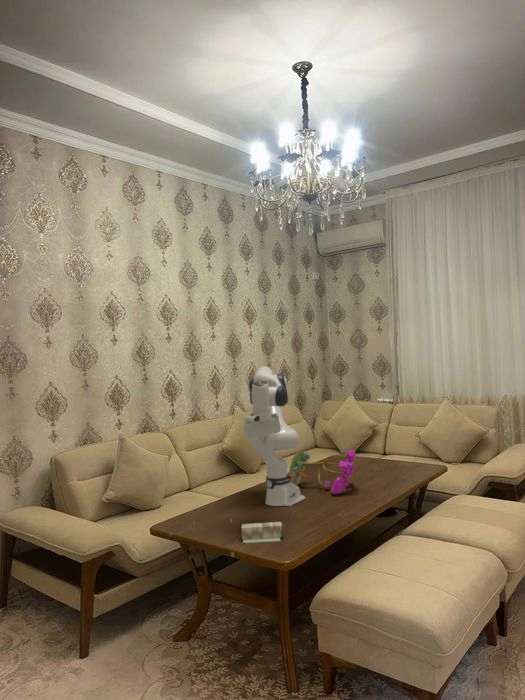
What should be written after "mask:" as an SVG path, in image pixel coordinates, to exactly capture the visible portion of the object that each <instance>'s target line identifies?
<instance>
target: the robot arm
mask: <svg viewBox="0 0 525 700" xmlns="http://www.w3.org/2000/svg"><path fill="white" fill-rule="evenodd" d="M287 380H288V379H287V378H286V377H285V375H284V374H283V373H276V374H275V373H274V372H273V370H272V369H271V368H270V367H269V366H265V365H263V366H260V367H258V369H257V370H256V371H255V372H254V376H253V377H252V378H251V379H250V380H249V381H248V387H247V389H248V392H249V401H250V402H249V403H250V404H251V405H252V408H251V410H252V412H250V413H248V414H247V415H246V416H244V417H243V421H244V424H243V436H244V437H245V439H250V444H251V446H252V448H253V449H254V450H255V451H256V452H257V453H259V454H260V455H261V457H262V458H263V460H264V462H265V470H266V476H265V478H266V479H265V483H266V497H265V505H267V506H273V507H282V506H283V507H284V506H286V507H289V506H293V505H296V504H298V503H300V502H301V501H303V500H306V497H305V495H302V494H301V489H300V487H299V486H298V485H297V486H296V485H295V484H293V483H292V482H290V479H293V475H289V476H288V464H287V460H286V459H285V458H284V457H282V456H280V455H277V454H276V453H275V451H287V450H291V449H295V448H297V447H298V445H299V444H300V436H299V434H298V431H296V430H295V429H294V428H292V427H291V426H289V425H288V424H287V423H286V421H285V420H284V416H283V414H284V413H283V409H282V408H283V407H285V406H286V405H287V404H288V402H289V396H290V395H289V391H288V390H287V387H288V381H287Z"/></svg>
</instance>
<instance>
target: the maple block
mask: <svg viewBox="0 0 525 700" xmlns="http://www.w3.org/2000/svg"><path fill="white" fill-rule="evenodd" d="M277 537H280V538H284V524H283V521H273V522H254V523H242V524H241V539H242V540H243V539H260V538H277Z"/></svg>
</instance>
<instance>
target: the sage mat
mask: <svg viewBox="0 0 525 700" xmlns="http://www.w3.org/2000/svg"><path fill="white" fill-rule="evenodd" d="M242 542H243V543H245V544H257V543H261V544H262V542H263V543H275V542H276V543H278V542H281V537H277V538H260V539H242Z"/></svg>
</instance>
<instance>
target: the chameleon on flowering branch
mask: <svg viewBox="0 0 525 700" xmlns="http://www.w3.org/2000/svg"><path fill="white" fill-rule="evenodd" d="M356 454H357V453H356V452H355V451H354V450H352V449H350V450H347V452H346V455H344V457H345V460H346V461H344V460H340V461H339V462H338V459H336V457H339V458H341V459H343V455H341V454H332V455H329V456H327V457H325V458H324V460H323V462H322V461H321V462H320V461H318V462H314V461H313V462H310V458H311V455H310V454H309V453H308V452H307V451H305V452H304V451H303V450H300V451H298V452H296V453H295V454H294V456H293V457H292V460H291V462H290V466H289V471H288V473H287V475H288V476H289V475H293V479H290V482H292V483H293V484H295V485H296V486H298V485H300V483H301V481H302V478H303V477H304V478H307V477H308V474H306V473H304V472H305V469H307V470H309V471H310V469H309V468H310V467H318V473H317V477H318V479H317V480H318V483H320V484H321V485H322V486H323V487H324V488H325V489H328V488H329V487H331V489H330V492H331V493H332V494H333V495H339V494H341V493H342V492H344V490H345V489H346V488H347V487H348V486H349V484H350V481H349V480H348V479H350V478H351V477H352V474H353V473H354V472H355V467H354V466H355V465H354V462H355V459H356V457H357V455H356ZM332 457H334V460H335V461H336V462H330V461H329V462H326V461H328V459H330V458H332ZM328 465H329V467H328ZM332 465H333V466H338V468H339V469H338V468H336V469H335V468H334V467H333V468H332ZM322 467H323V469H325V470H326V471H327V472H328V474H329V476H330V478H331V481H332V482H333V483H332V485H331V484H330V483H331V481H330V480H327V481H326V480H325V481H323V479H322V478H323V477H322V476H321V475H322ZM329 468H330V469H329ZM310 472H311V473H312V471H310ZM330 472H332V473H339V474H341V476H339V477H337V478H335V480H334V479H333V477H332V474H331V473H330Z"/></svg>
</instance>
